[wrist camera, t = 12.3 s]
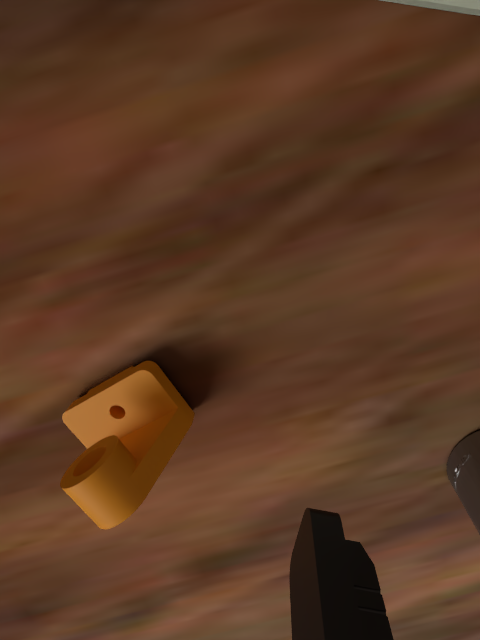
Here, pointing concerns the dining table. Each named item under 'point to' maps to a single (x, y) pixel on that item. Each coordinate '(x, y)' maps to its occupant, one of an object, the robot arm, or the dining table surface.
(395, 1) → the stand
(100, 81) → the dining table surface
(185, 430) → the bracket
